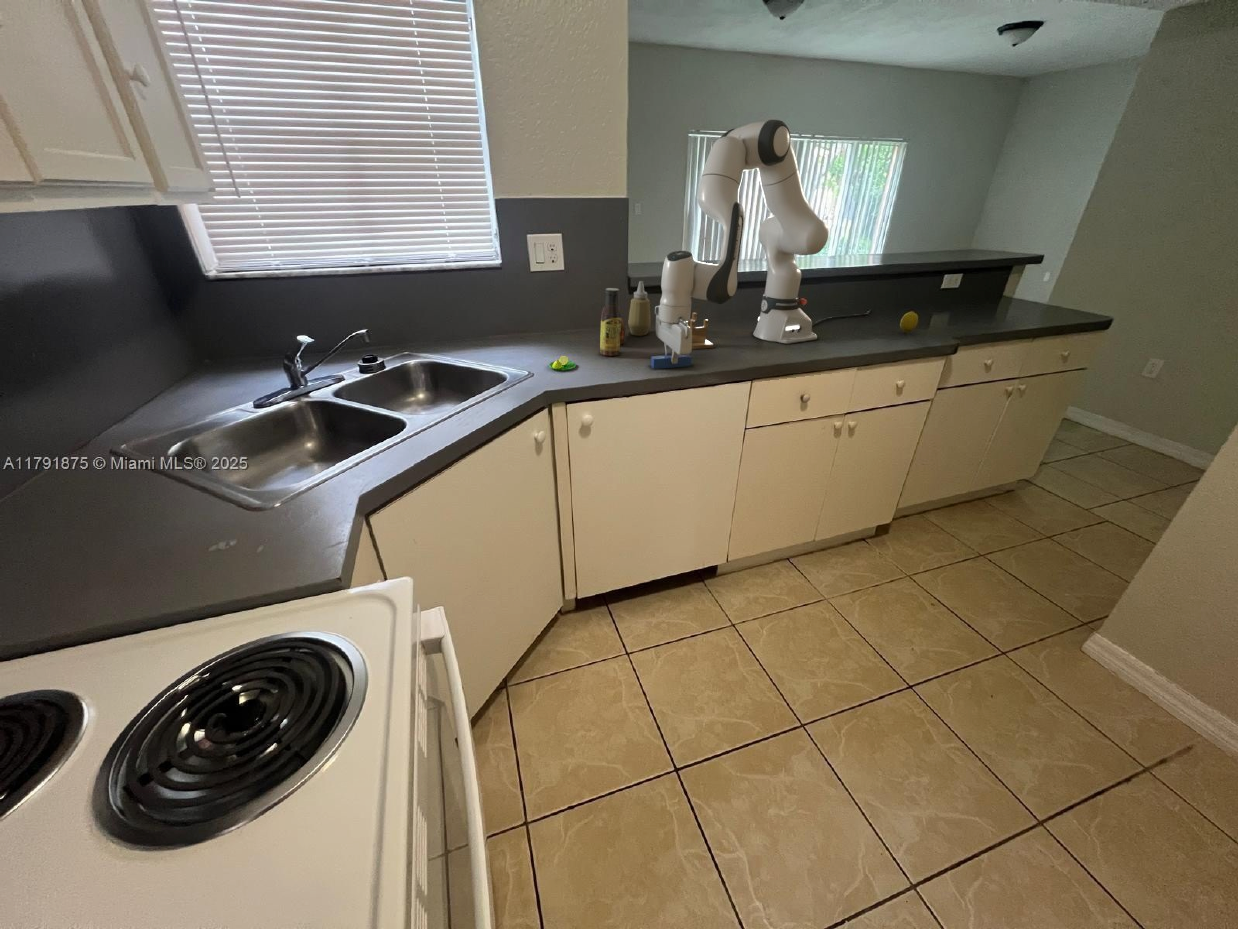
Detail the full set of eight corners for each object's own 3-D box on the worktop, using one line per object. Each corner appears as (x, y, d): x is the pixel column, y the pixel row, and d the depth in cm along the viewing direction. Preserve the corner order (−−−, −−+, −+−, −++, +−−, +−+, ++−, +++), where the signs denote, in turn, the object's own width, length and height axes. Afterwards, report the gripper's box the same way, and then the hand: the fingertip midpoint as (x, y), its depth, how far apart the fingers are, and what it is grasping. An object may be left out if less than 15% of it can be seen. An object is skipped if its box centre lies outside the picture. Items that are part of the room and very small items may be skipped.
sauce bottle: (605, 358, 151) (605, 291, 141) (596, 352, 156) (596, 287, 146) (623, 355, 154) (625, 290, 144) (614, 349, 159) (615, 286, 148)
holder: (671, 336, 174) (672, 311, 169) (694, 334, 176) (696, 310, 171) (688, 349, 160) (690, 323, 156) (713, 347, 163) (716, 321, 158)
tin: (603, 335, 172) (603, 311, 168) (611, 334, 173) (612, 310, 169) (617, 348, 160) (618, 322, 156) (626, 347, 161) (627, 321, 157)
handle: (687, 363, 149) (688, 353, 147) (690, 366, 146) (691, 356, 145) (650, 366, 146) (651, 356, 144) (653, 368, 144) (654, 359, 142)
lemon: (914, 332, 184) (921, 310, 180) (913, 335, 180) (920, 313, 176) (898, 329, 187) (905, 308, 183) (896, 333, 183) (903, 311, 179)
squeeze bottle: (650, 331, 178) (653, 279, 169) (649, 337, 171) (652, 284, 162) (628, 330, 179) (630, 278, 170) (626, 336, 172) (628, 283, 163)
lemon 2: (555, 361, 148) (555, 352, 146) (579, 364, 146) (579, 355, 144) (544, 369, 141) (543, 360, 140) (569, 373, 139) (569, 363, 138)
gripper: (699, 322, 130) (694, 371, 137) (672, 305, 147) (669, 349, 154) (678, 323, 129) (674, 373, 136) (652, 305, 146) (650, 351, 153)
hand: (671, 360), depth 145 cm, fingers open, 3 cm apart
